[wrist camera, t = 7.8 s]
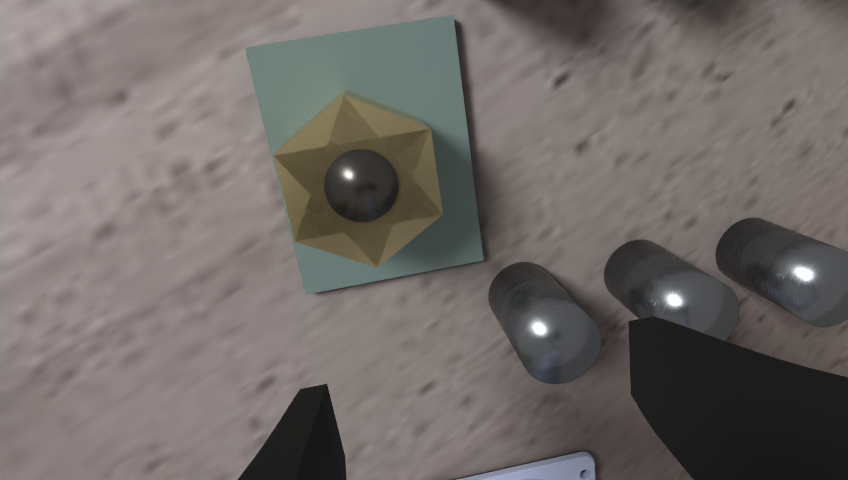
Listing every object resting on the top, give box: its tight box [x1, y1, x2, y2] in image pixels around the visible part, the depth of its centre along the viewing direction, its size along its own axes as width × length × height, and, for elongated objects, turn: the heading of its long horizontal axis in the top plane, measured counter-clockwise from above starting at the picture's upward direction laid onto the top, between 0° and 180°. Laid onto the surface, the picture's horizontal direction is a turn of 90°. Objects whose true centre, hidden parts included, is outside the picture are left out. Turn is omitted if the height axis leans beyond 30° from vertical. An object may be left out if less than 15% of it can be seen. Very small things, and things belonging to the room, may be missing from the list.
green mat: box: [245, 15, 484, 295], centre depth 20 cm, size 9×7×1 cm
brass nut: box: [274, 89, 443, 268], centre depth 18 cm, size 5×5×4 cm
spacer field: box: [489, 218, 848, 384], centre depth 19 cm, size 16×13×4 cm
